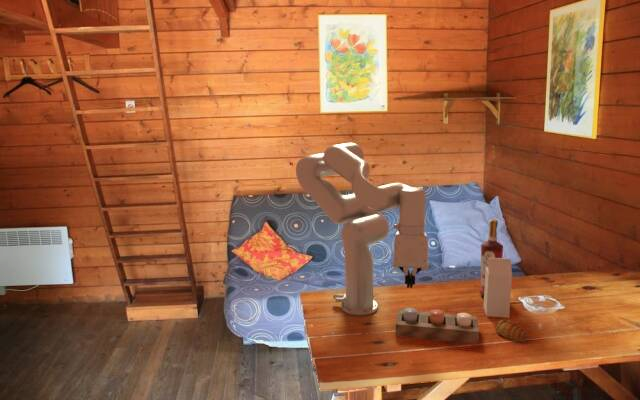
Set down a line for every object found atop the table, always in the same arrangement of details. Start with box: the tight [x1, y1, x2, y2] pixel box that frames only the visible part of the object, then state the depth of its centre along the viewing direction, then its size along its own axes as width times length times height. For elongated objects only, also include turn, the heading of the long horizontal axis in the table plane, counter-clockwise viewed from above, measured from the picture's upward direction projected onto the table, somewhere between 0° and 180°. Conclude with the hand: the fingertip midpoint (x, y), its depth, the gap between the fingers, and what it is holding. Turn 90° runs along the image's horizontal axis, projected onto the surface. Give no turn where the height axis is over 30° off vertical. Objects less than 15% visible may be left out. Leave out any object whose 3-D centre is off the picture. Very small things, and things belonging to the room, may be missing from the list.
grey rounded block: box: [403, 307, 418, 322], centre depth 149 cm, size 4×4×4 cm
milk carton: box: [483, 257, 513, 319], centre depth 157 cm, size 7×7×19 cm
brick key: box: [429, 308, 445, 325], centre depth 147 cm, size 4×4×4 cm
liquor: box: [479, 219, 504, 297], centre depth 168 cm, size 7×7×28 cm
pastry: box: [495, 318, 530, 343], centre depth 144 cm, size 9×7×4 cm
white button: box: [456, 312, 473, 327], centre depth 145 cm, size 4×4×4 cm
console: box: [395, 309, 480, 345], centre depth 147 cm, size 24×10×4 cm, turn 76°
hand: (409, 286), depth 147 cm, fingers closed
